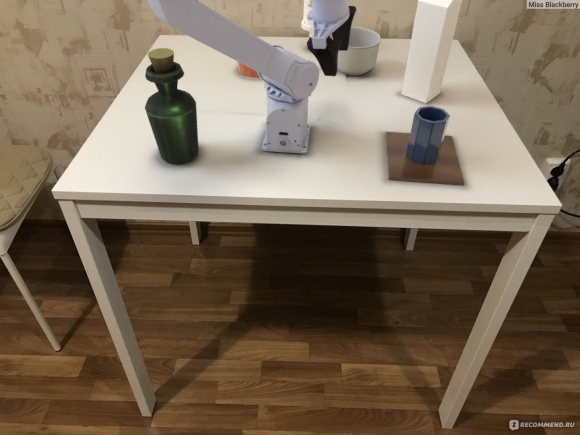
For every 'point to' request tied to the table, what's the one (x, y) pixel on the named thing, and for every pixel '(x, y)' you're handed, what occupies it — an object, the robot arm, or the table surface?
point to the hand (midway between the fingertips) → (336, 61)
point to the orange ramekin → (247, 71)
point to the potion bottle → (171, 109)
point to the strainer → (306, 23)
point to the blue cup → (427, 134)
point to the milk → (430, 48)
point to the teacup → (359, 52)
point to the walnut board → (408, 170)
